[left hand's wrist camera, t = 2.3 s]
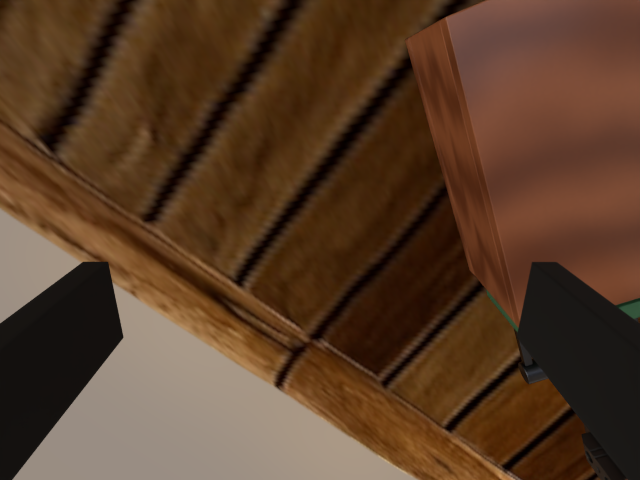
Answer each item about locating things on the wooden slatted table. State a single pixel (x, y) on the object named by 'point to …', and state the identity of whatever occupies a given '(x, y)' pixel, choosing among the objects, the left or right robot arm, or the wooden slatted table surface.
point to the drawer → (528, 365)
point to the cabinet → (539, 138)
